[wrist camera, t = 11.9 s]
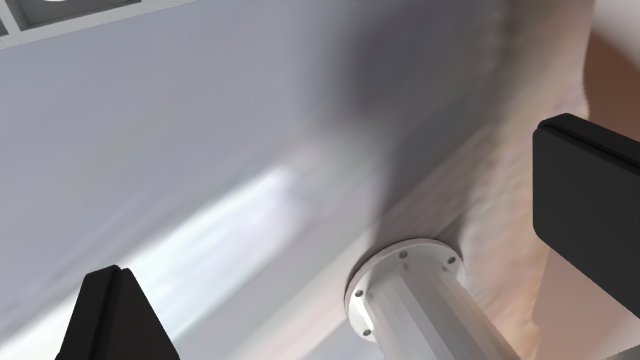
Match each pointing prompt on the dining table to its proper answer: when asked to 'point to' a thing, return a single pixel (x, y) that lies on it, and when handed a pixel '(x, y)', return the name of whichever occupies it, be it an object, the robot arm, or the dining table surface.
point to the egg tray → (66, 16)
